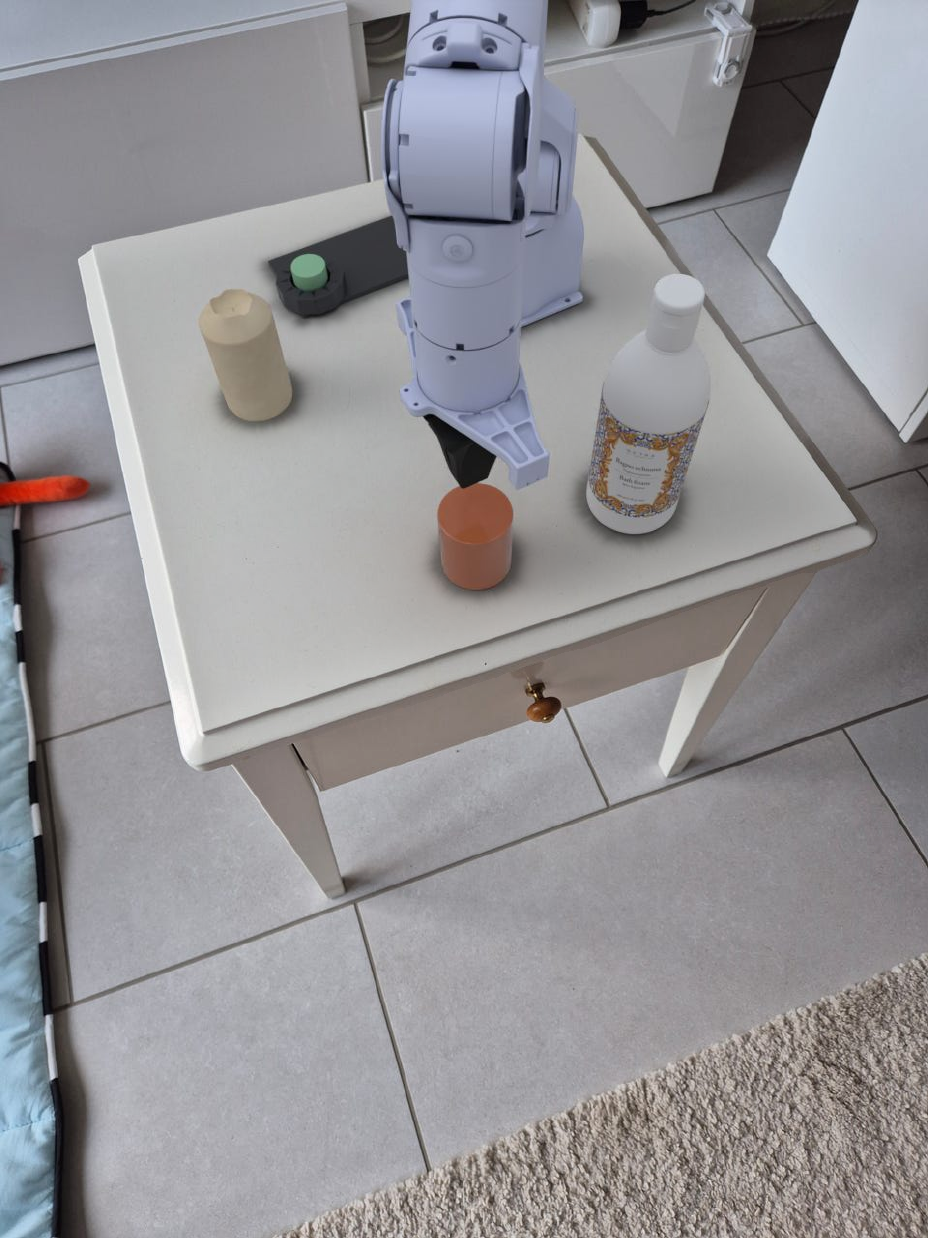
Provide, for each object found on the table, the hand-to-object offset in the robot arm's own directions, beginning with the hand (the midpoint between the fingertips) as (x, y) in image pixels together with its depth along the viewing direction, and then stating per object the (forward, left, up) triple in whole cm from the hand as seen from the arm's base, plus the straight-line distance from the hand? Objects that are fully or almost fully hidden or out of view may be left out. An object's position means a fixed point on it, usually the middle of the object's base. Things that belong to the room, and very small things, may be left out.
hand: (470, 476), depth 59 cm
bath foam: (-13, +1, -10) cm, 16 cm away
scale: (-6, -33, -10) cm, 35 cm away
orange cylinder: (0, 0, -9) cm, 9 cm away
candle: (+8, -23, -10) cm, 26 cm away
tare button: (-1, -31, -8) cm, 32 cm away
